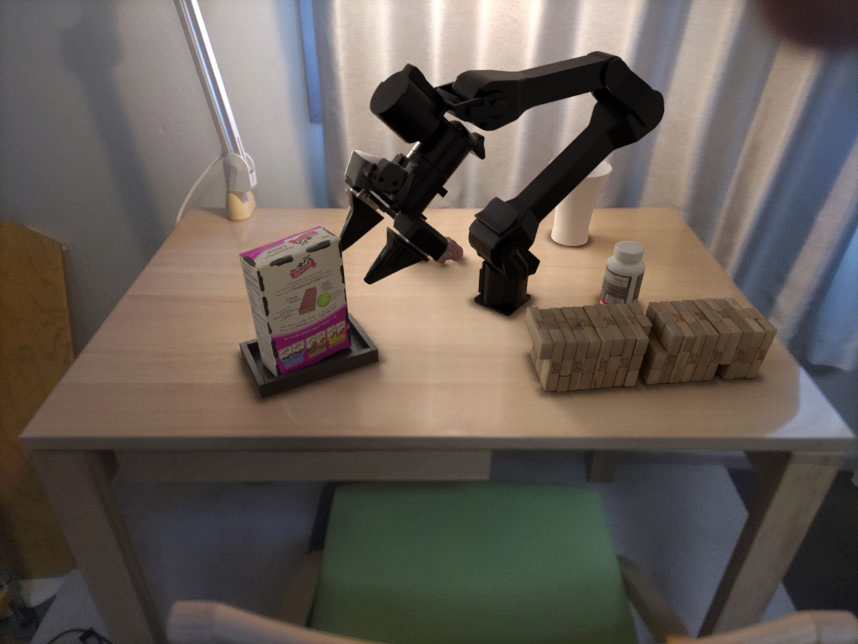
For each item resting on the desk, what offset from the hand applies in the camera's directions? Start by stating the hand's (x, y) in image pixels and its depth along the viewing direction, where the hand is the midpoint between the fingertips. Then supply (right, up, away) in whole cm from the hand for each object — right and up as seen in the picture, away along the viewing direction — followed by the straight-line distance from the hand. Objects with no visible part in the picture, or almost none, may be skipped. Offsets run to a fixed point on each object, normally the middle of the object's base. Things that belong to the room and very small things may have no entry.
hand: (351, 265), depth 75 cm
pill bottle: (+38, -5, +15) cm, 41 cm away
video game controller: (+10, +3, +26) cm, 28 cm away
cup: (+35, +8, +33) cm, 49 cm away
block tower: (+37, -13, +3) cm, 39 cm away
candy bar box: (-6, -12, +4) cm, 14 cm away
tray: (-6, -12, +4) cm, 14 cm away
